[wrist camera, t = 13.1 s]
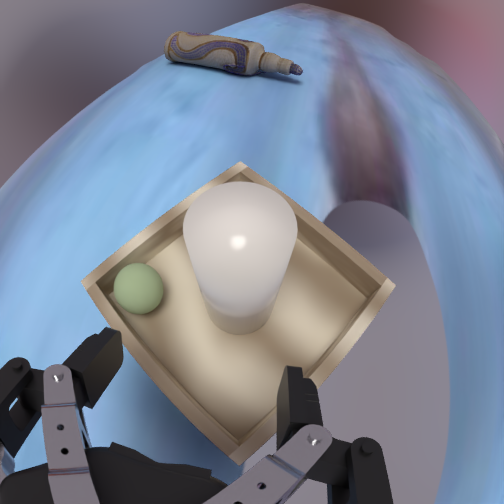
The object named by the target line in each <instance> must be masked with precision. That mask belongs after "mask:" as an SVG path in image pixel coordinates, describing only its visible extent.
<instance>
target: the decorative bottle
mask: <svg viewBox="0 0 504 504" xmlns="http://www.w3.org/2000/svg"><path fill="white" fill-rule="evenodd" d="M164 53H165V57H166V59H168V60H170V61H173V62H175V61H177V62H184V63H190V64H197V65H203V66H209V67H214V68H220V69H224V70H226V71H227V72H230V73H234V74H239V75H248V76H251V75H256V74H260V73H261V72H258V73H256V72H257V71H258V70H259V69H261V70H262V71H264V72H262V73H266V72H279V73H281V74H285V75H290V73H292V74H294V75H301V74H302V72H303V70H302V68H301V67H300V66H299V65H297V64H294V62H293V61H291V60H288V59H284V58H281V57H280V56H278V55H276V54H274V53H269V52H265V50H264V47H263V45H261V44H260V43H257V42H253V41H248V40H242V39H237V38H231V37H225V36H218V35H209V34H201V33H189V32H188V33H186V32H182V31H179V32H175V33H173V34H172V35H170V36H169V37H168V39H167V40H166V43H165V46H164Z"/></svg>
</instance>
